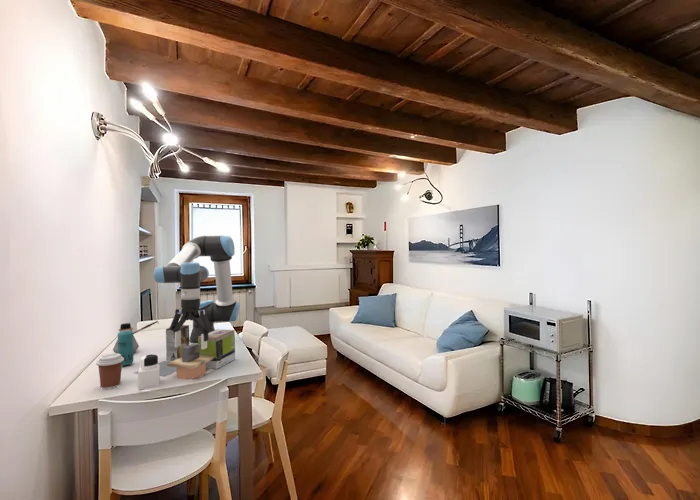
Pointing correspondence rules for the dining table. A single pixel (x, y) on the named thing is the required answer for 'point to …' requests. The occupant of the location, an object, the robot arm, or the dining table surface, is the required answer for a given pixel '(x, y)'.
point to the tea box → (219, 348)
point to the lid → (190, 358)
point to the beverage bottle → (125, 344)
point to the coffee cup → (110, 370)
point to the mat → (165, 369)
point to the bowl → (191, 372)
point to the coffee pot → (133, 338)
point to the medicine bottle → (148, 372)
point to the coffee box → (171, 350)
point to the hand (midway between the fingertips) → (190, 347)
